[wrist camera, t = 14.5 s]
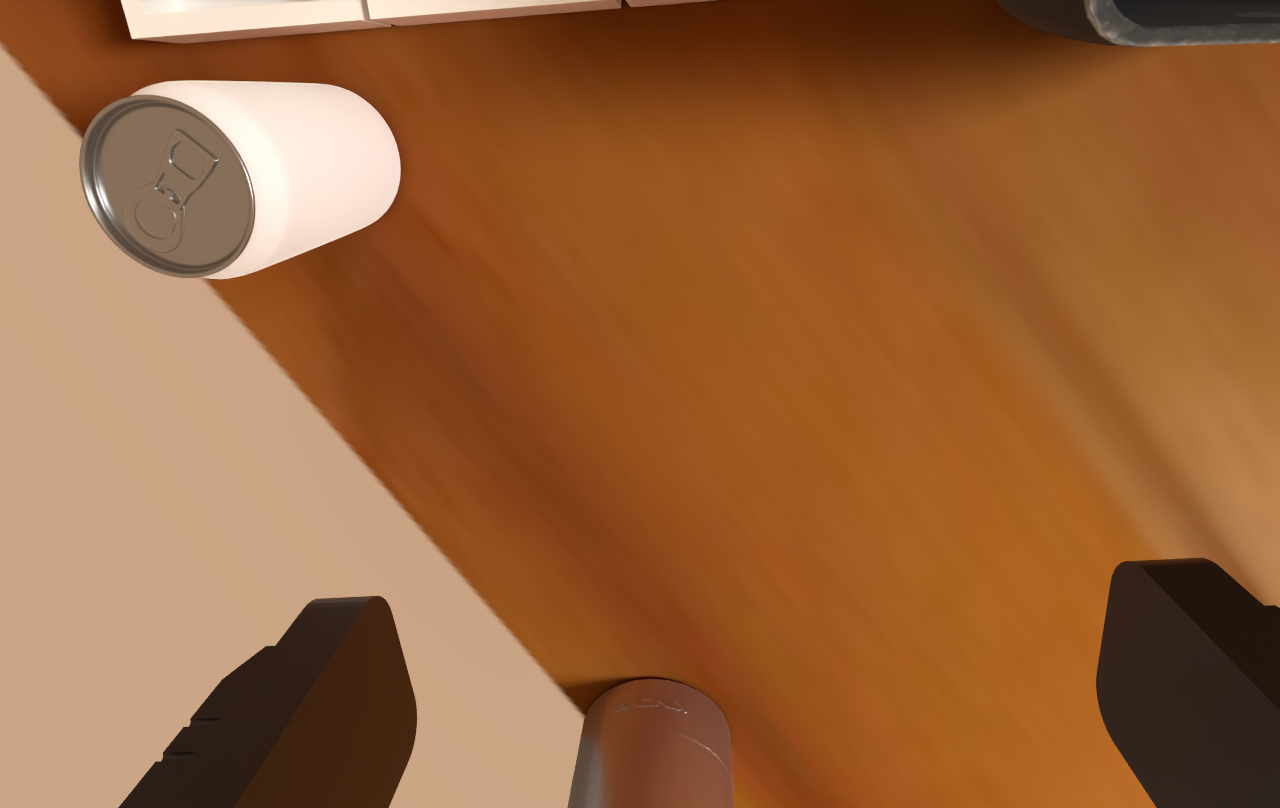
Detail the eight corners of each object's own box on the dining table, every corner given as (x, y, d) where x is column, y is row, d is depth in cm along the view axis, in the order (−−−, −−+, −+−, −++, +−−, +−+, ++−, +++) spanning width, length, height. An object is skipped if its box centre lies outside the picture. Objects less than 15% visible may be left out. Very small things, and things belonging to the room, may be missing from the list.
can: (242, 166, 35) (33, 200, 24) (311, 50, 33) (117, 29, 22) (357, 257, 36) (209, 330, 25) (431, 151, 34) (304, 180, 23)
